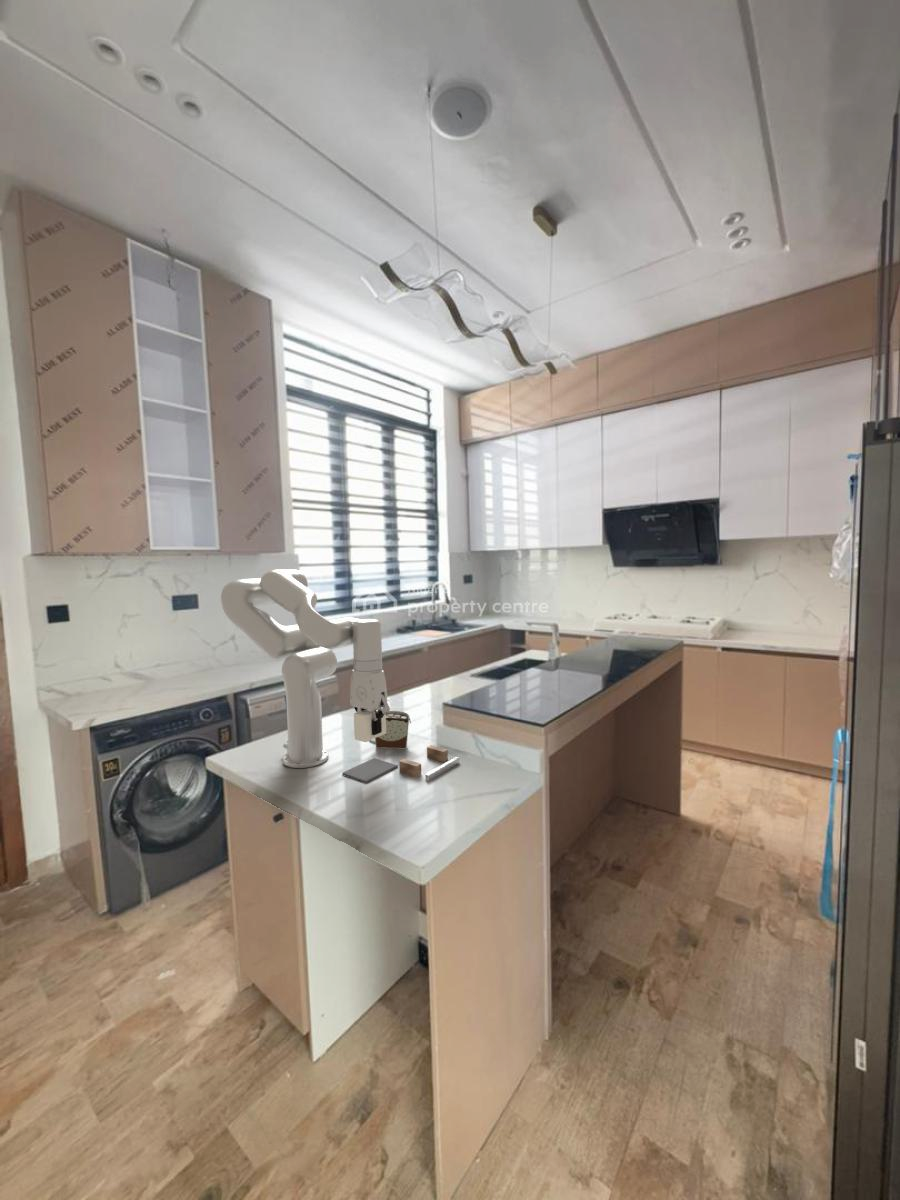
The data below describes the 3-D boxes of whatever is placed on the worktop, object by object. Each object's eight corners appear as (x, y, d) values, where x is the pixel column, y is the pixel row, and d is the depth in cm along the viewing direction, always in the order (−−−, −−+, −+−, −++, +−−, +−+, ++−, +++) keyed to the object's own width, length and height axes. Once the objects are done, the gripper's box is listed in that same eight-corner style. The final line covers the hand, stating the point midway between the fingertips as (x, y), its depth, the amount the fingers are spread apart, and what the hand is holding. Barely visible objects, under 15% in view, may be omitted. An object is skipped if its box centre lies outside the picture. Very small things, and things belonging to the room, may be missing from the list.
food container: (414, 741, 155) (413, 710, 154) (411, 749, 149) (410, 716, 148) (376, 740, 156) (375, 710, 156) (371, 748, 150) (370, 716, 149)
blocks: (399, 771, 133) (399, 761, 132) (431, 755, 144) (431, 745, 144) (428, 781, 127) (428, 769, 127) (459, 762, 138) (459, 752, 138)
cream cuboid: (354, 739, 130) (353, 713, 130) (375, 730, 137) (374, 706, 136) (365, 742, 128) (364, 716, 128) (386, 733, 135) (385, 708, 134)
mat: (342, 774, 131) (342, 772, 131) (374, 759, 141) (374, 757, 141) (366, 783, 126) (366, 781, 126) (397, 767, 136) (397, 765, 136)
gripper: (336, 664, 133) (339, 730, 134) (381, 671, 123) (383, 742, 125) (356, 660, 139) (359, 723, 140) (400, 665, 129) (403, 733, 131)
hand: (370, 731), depth 132 cm, fingers closed on cream cuboid, 4 cm apart
